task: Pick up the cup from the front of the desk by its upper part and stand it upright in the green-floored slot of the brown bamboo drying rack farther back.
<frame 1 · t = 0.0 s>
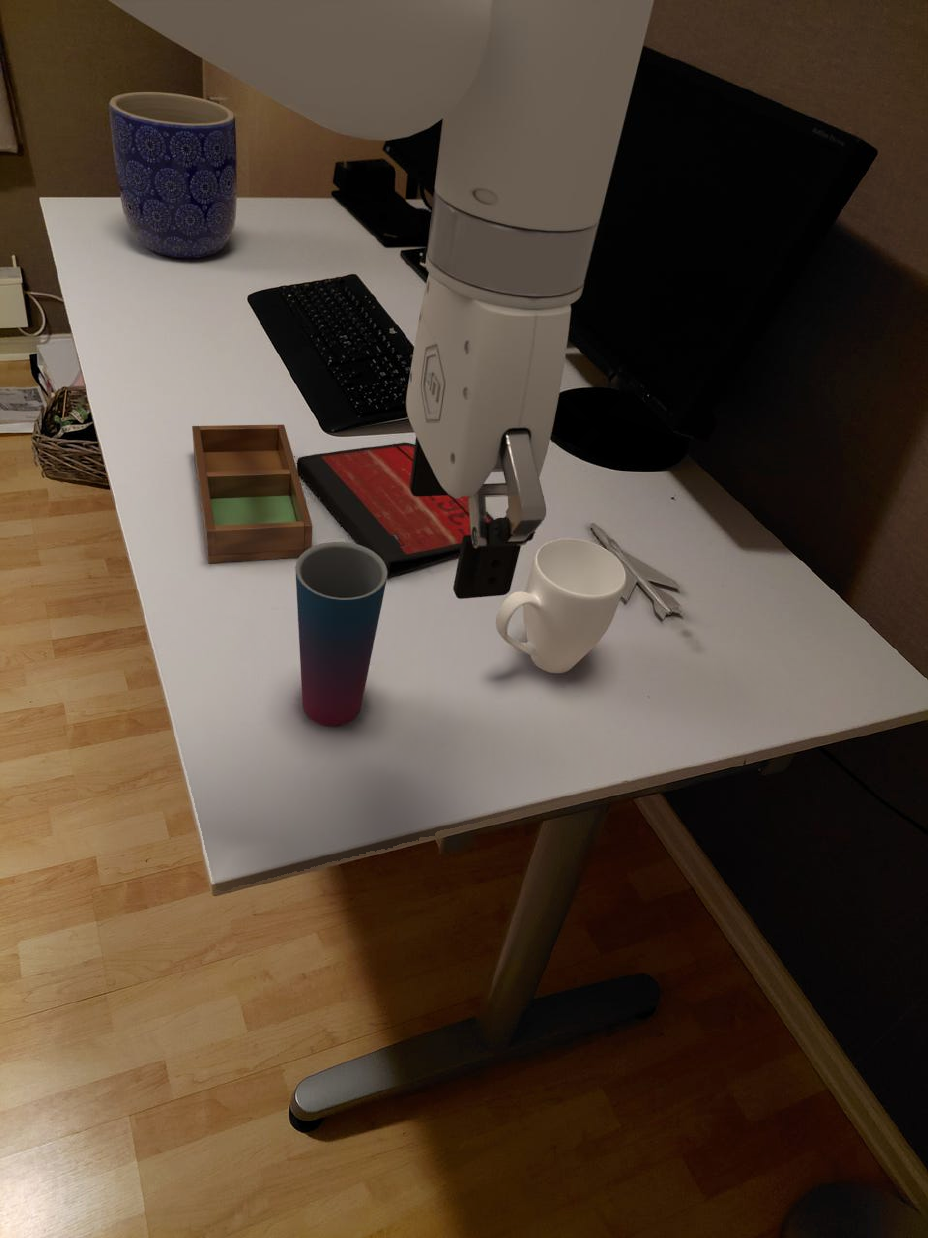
hand: (455, 540, 50), 25 cm above the table, tool pointing down, fingers open, 9 cm apart
planter: (182, 247, 142), on the table
toy airplane: (638, 584, 92), on the table
mug: (536, 664, 80), on the table
binder: (400, 508, 96), on the table
rack: (249, 503, 92), on the table
cup: (331, 705, 73), on the table
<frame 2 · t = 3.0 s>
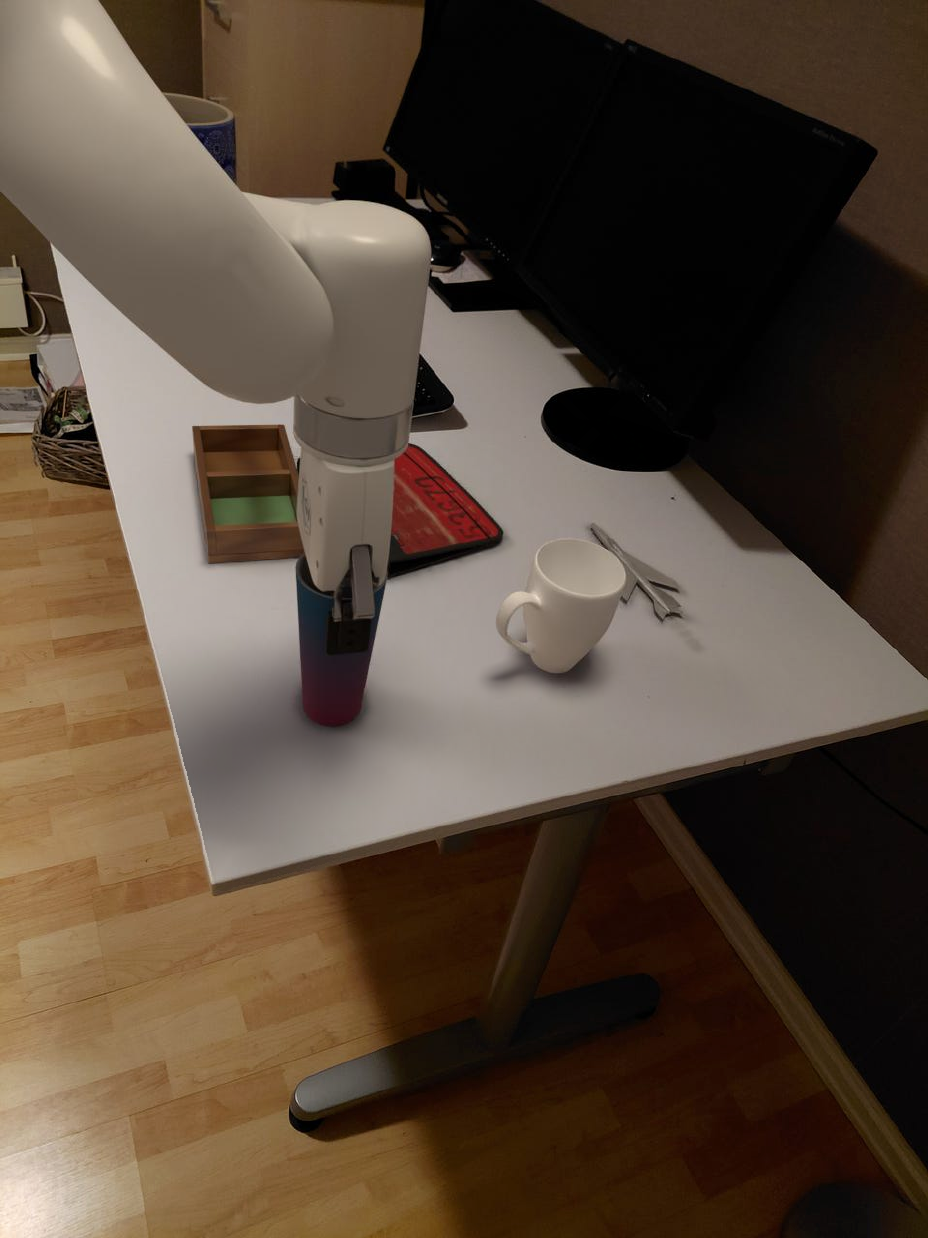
hand: (338, 618, 66), 10 cm above the table, tool pointing down, fingers closed on cup, 6 cm apart
cup: (331, 705, 73), on the table, touching gripper
everything else where it was.
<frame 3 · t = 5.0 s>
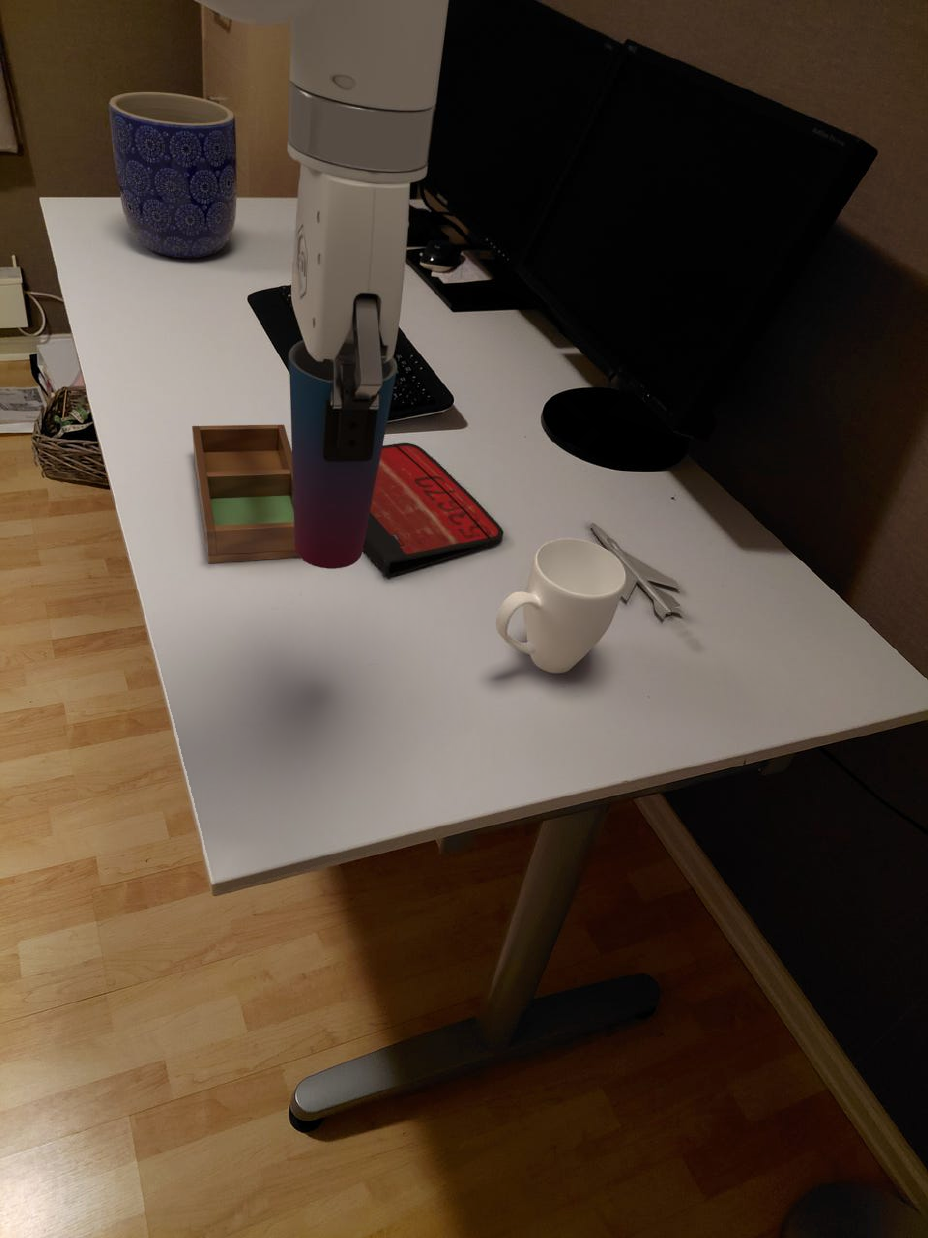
hand: (337, 429, 56), 26 cm above the table, tool pointing down, fingers closed on cup, 6 cm apart
cup: (328, 550, 63), point 16 cm above the table, touching gripper
everything else where it was.
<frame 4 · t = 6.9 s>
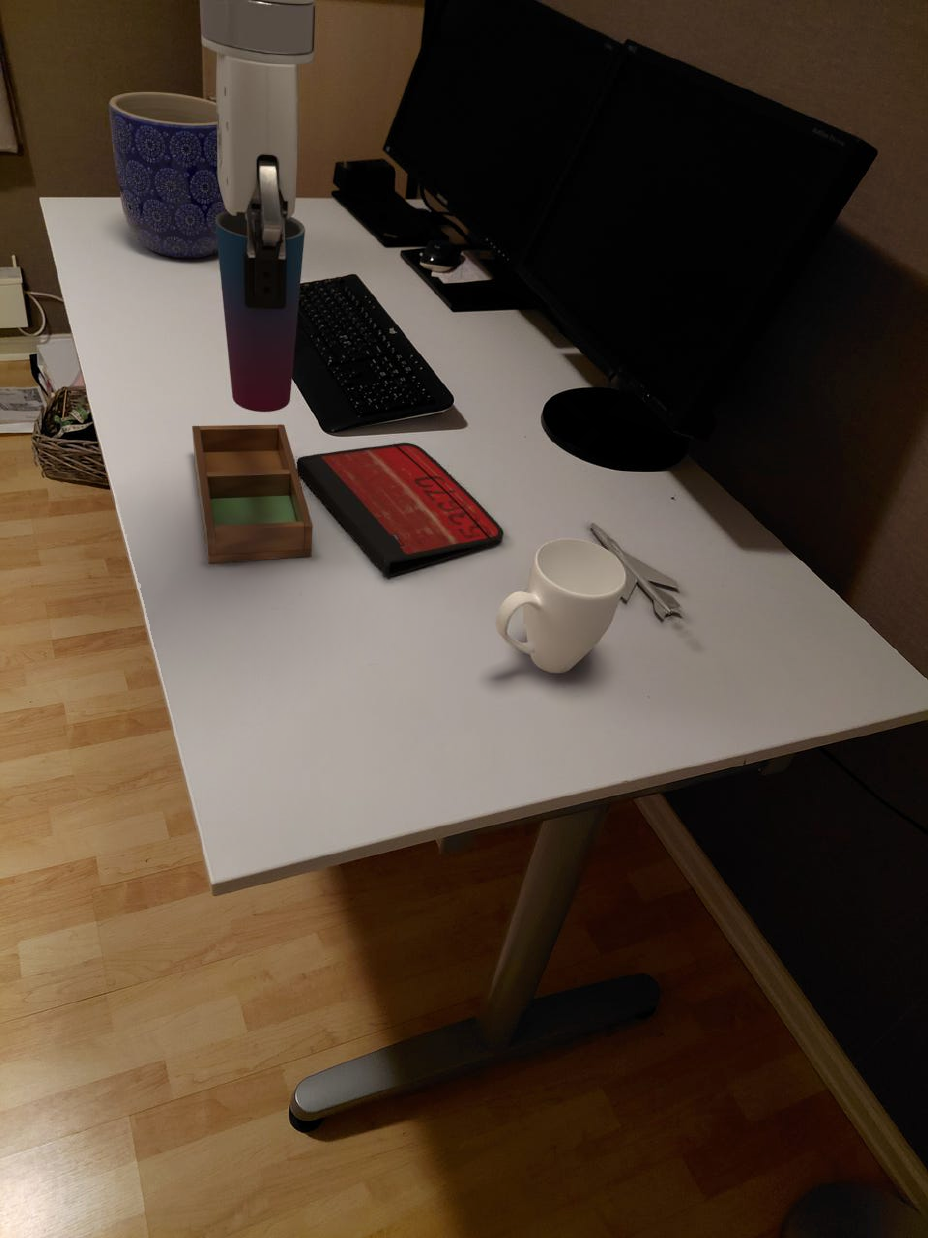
hand: (260, 287, 69), 27 cm above the table, tool pointing down, fingers closed on cup, 6 cm apart
cup: (261, 400, 76), point 17 cm above the table, touching gripper
everything else where it was.
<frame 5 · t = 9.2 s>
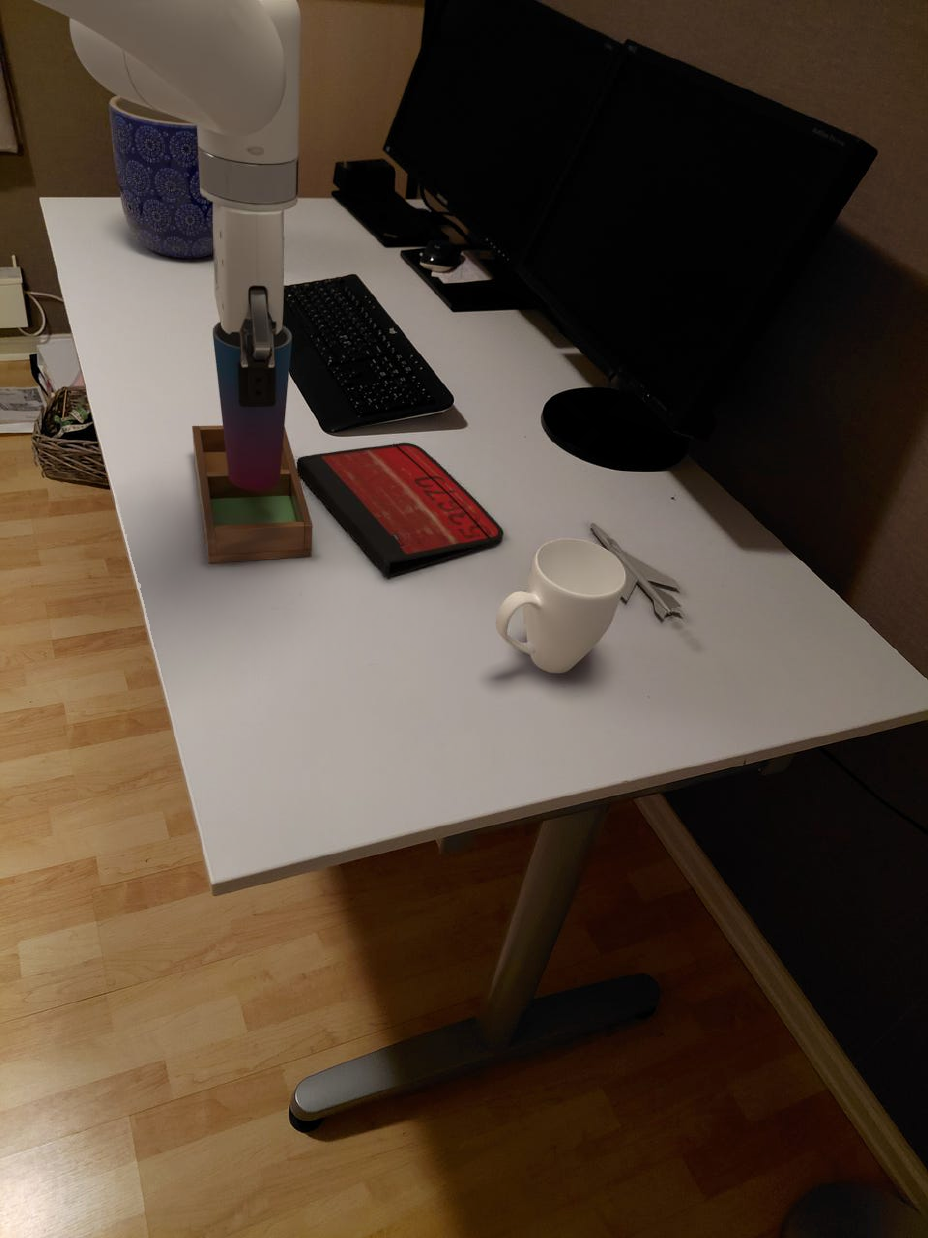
hand: (252, 384, 78), 17 cm above the table, tool pointing down, fingers closed on cup, 6 cm apart
cup: (254, 478, 84), point 6 cm above the table, touching gripper
everything else where it was.
when the fingers open (11 cm above the table, at t = 11.0 s): cup stays where it is, resting on rack.
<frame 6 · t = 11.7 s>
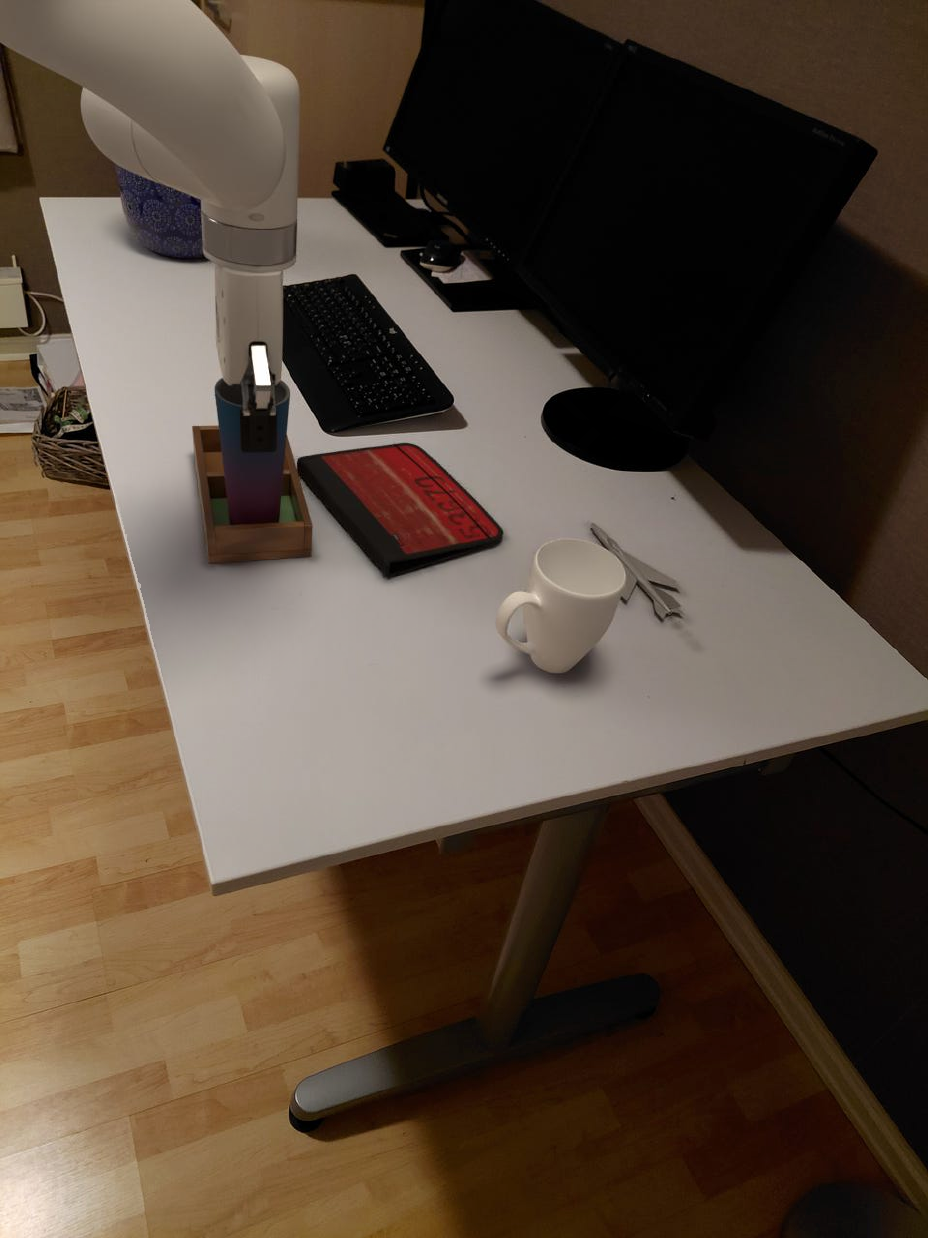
hand: (252, 423, 80), 13 cm above the table, tool pointing down, fingers open, 9 cm apart
cup: (254, 522, 88), point 1 cm above the table, touching rack
everything else where it was.
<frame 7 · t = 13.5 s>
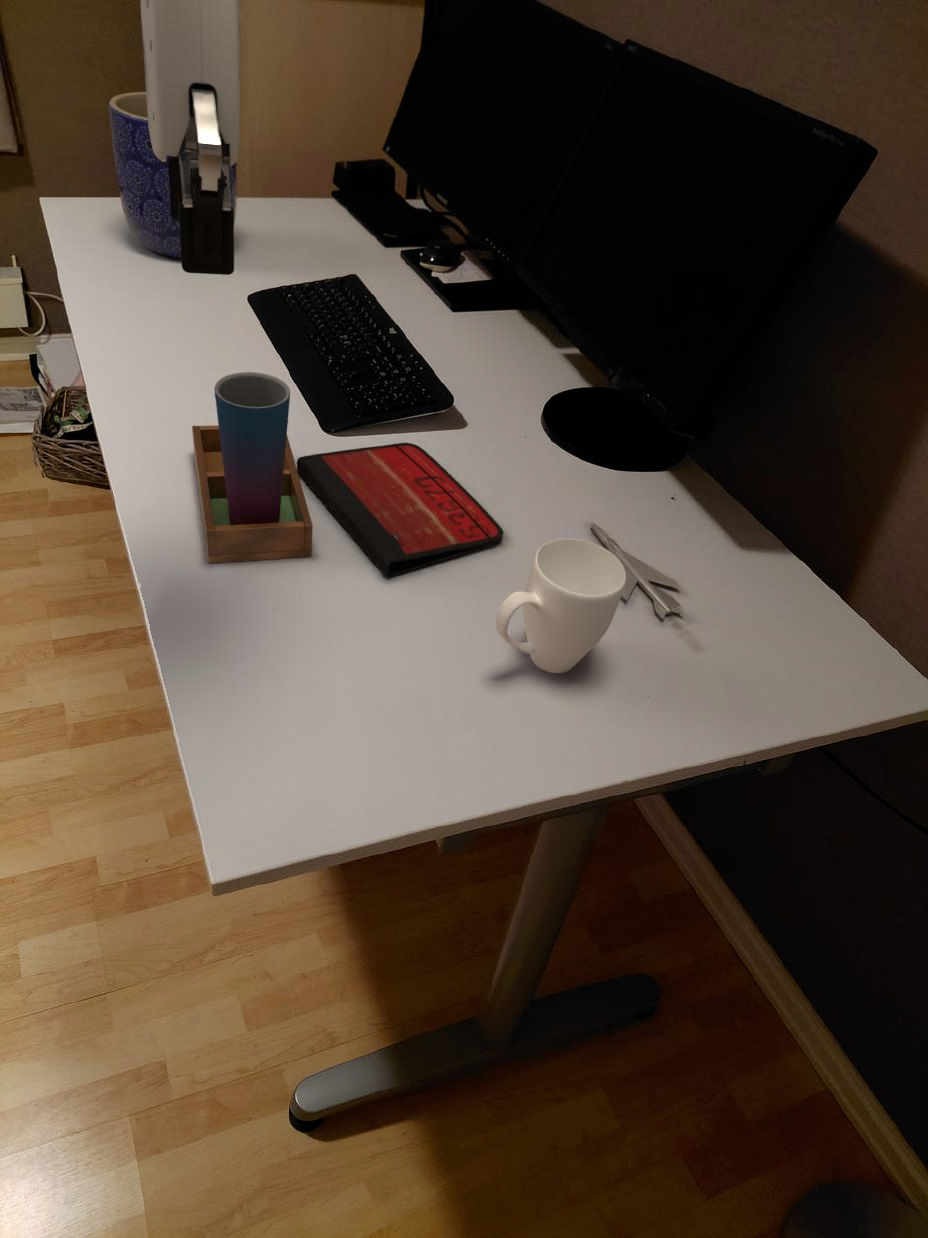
hand: (201, 244, 57), 33 cm above the table, tool pointing down, fingers open, 9 cm apart
nothing on the table moved.
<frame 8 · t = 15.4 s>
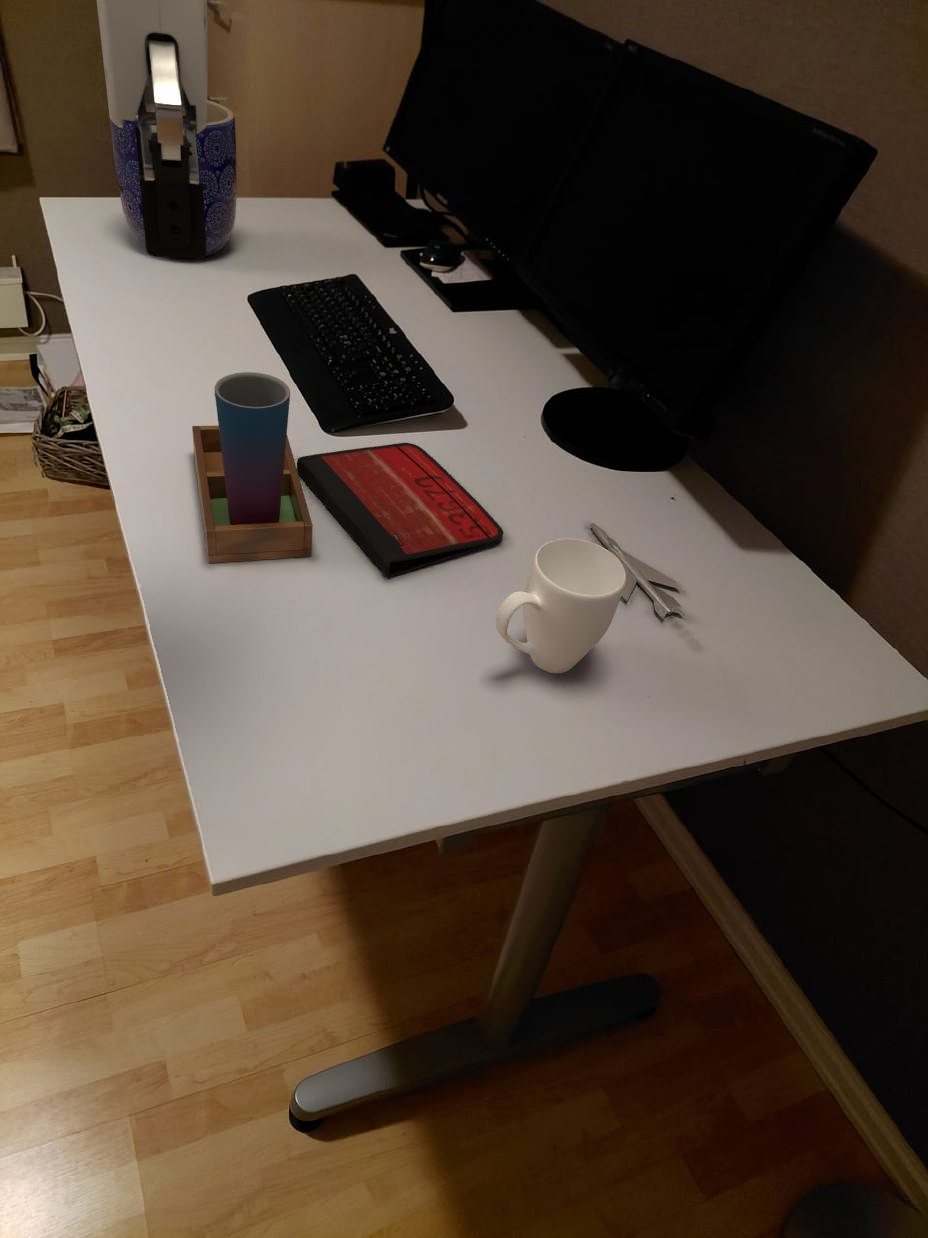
hand: (172, 224, 51), 36 cm above the table, tool pointing down, fingers open, 9 cm apart
nothing on the table moved.
at the end: cup 0.1 cm from the target spot in the rack, point 1.0 cm above the rack's base; cup tilted 0° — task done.
